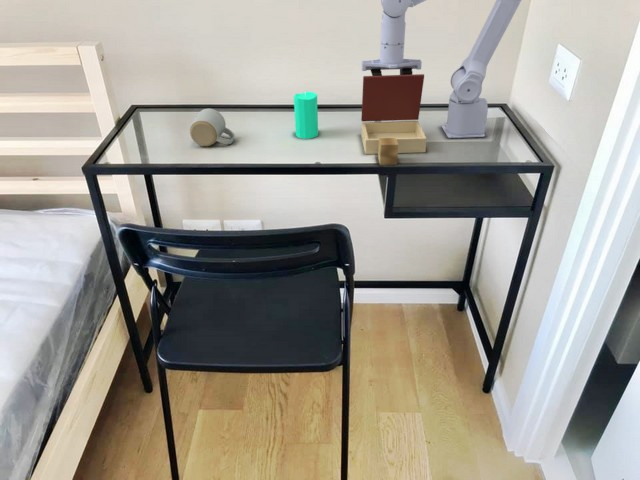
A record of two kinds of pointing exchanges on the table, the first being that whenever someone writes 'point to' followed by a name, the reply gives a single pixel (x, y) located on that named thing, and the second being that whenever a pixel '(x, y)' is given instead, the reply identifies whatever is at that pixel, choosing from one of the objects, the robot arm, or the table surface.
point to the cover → (391, 97)
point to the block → (387, 151)
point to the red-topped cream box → (394, 136)
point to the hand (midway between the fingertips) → (389, 98)
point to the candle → (306, 115)
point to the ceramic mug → (210, 128)
